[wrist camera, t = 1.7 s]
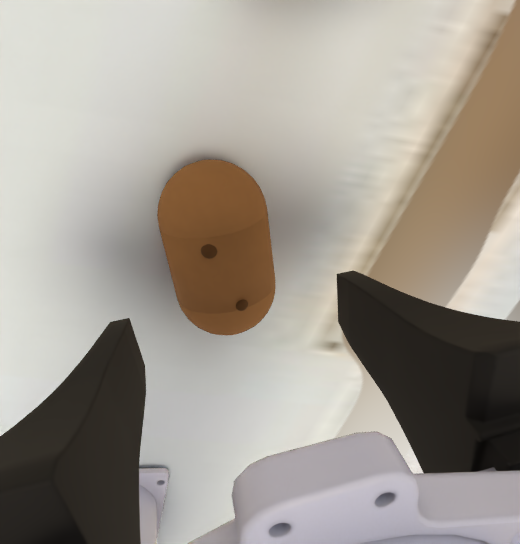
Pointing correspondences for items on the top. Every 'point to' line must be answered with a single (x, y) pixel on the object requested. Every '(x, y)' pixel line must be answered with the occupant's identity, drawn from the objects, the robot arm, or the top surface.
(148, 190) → the top surface
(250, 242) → the potato
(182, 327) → the top surface
